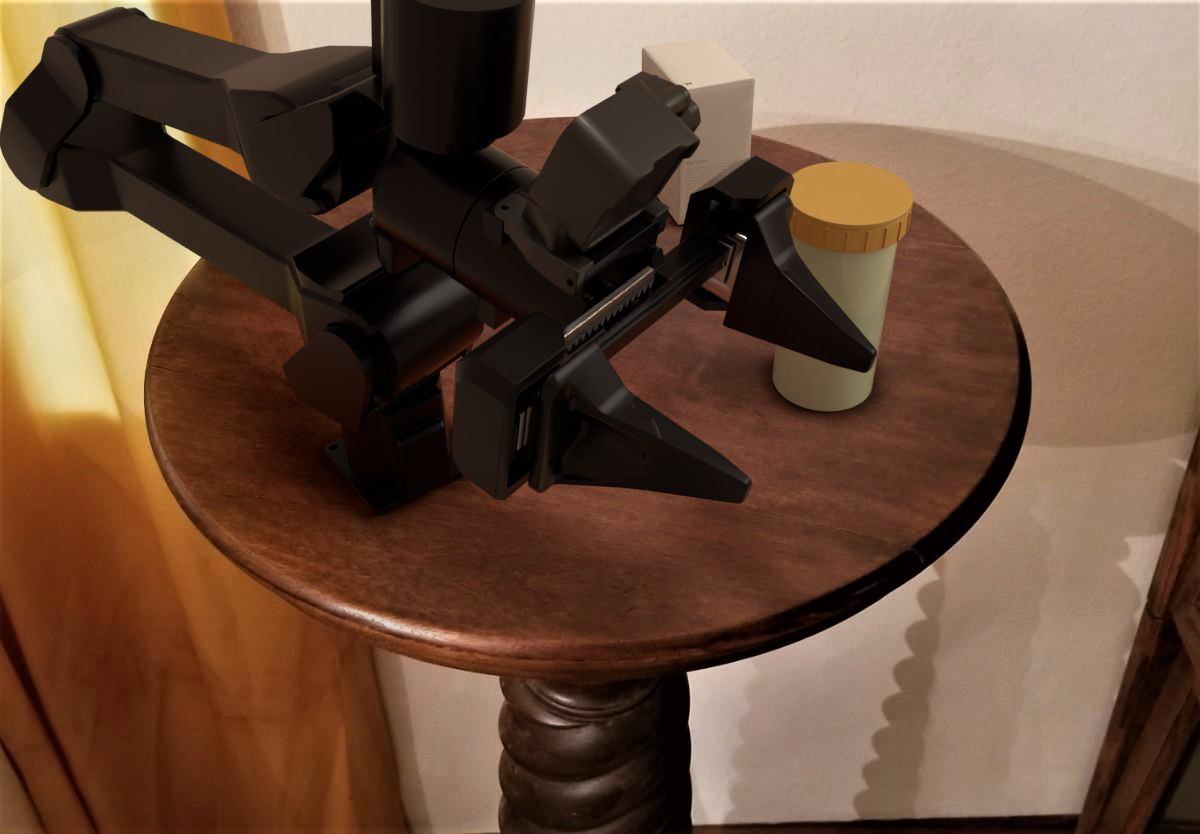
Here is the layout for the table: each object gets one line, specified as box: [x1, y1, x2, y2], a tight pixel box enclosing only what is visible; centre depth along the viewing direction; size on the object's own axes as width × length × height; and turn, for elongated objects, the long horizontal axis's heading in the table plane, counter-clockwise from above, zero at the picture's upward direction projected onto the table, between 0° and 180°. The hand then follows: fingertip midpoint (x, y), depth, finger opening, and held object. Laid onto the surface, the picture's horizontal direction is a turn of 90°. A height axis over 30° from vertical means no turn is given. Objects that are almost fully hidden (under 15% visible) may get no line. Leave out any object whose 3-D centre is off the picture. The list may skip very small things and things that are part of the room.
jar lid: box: [789, 161, 914, 253], centre depth 62 cm, size 7×7×2 cm
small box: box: [641, 36, 756, 225], centre depth 83 cm, size 8×6×10 cm
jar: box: [771, 234, 899, 413], centre depth 66 cm, size 6×6×12 cm
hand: (814, 423), depth 43 cm, fingers open, 9 cm apart
